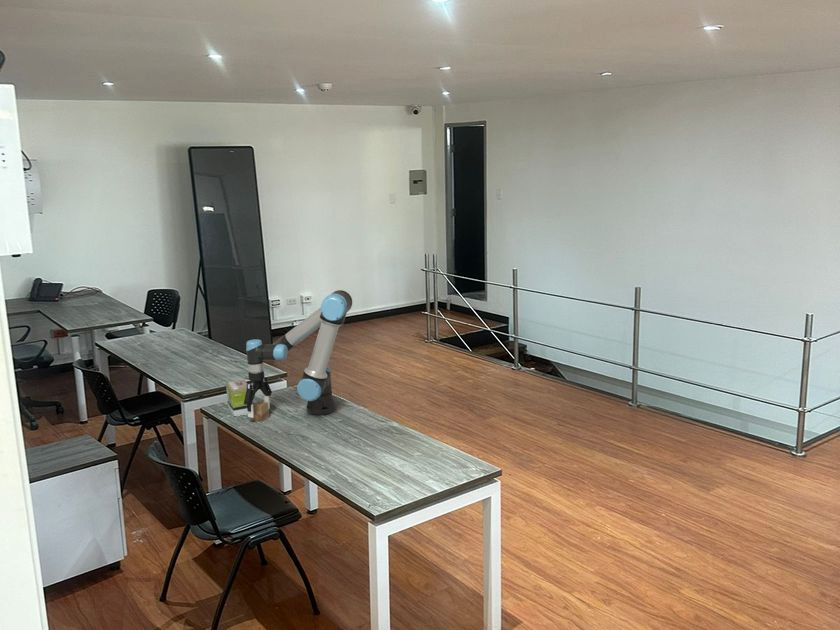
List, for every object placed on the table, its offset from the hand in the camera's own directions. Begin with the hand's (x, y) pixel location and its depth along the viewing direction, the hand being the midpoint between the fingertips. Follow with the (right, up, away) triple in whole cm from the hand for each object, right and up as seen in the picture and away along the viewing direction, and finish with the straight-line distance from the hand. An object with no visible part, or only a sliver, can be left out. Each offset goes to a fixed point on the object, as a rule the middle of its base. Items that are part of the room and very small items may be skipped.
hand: (259, 412), depth 373 cm
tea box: (-12, -1, +14) cm, 18 cm away
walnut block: (+1, -3, +1) cm, 3 cm away
